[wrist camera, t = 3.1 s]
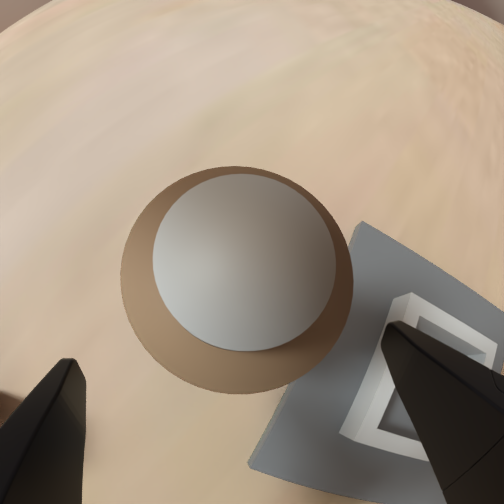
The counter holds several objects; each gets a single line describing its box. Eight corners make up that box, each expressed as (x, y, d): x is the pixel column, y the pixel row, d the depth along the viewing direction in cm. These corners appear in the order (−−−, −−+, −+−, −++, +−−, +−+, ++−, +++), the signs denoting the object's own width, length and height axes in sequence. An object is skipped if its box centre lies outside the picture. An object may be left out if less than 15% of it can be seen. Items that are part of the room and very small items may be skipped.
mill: (237, 380, 17) (312, 445, 4) (162, 340, 17) (57, 309, 4) (273, 307, 18) (402, 211, 6) (201, 269, 18) (196, 106, 6)
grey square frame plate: (438, 506, 15) (461, 517, 12) (247, 462, 15) (255, 481, 12) (503, 320, 20) (529, 314, 17) (355, 226, 20) (376, 207, 18)
